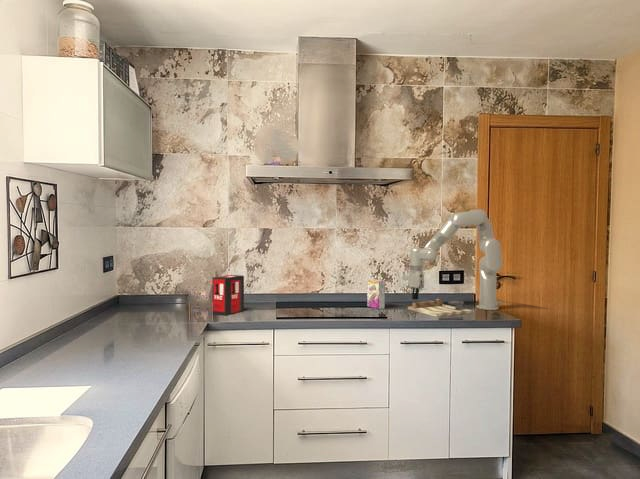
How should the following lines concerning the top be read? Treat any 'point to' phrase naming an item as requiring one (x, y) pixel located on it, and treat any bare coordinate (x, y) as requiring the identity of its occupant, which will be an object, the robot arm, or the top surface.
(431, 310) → the birch board
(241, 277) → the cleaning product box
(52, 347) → the top surface
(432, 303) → the walnut link
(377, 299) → the candy bar box
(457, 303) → the block
